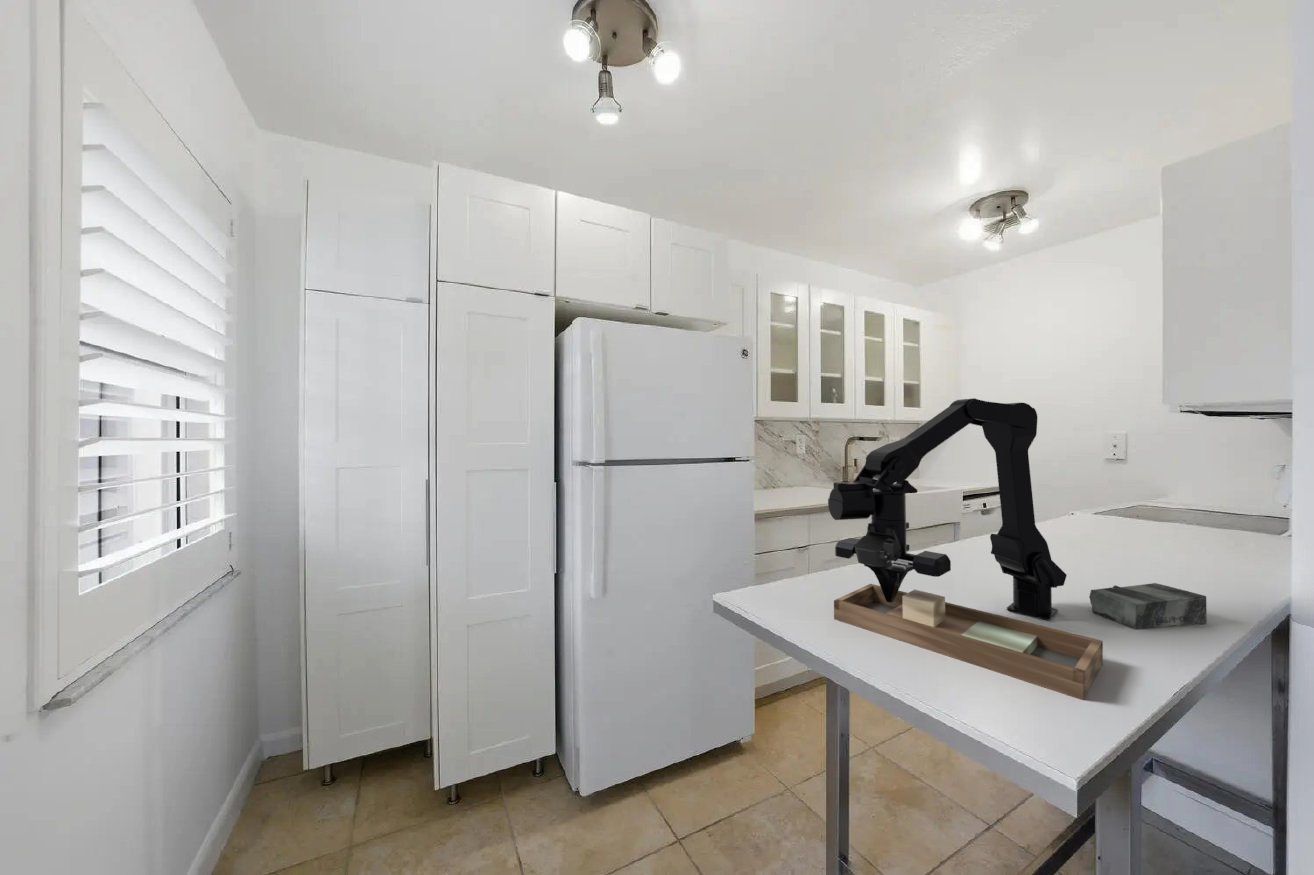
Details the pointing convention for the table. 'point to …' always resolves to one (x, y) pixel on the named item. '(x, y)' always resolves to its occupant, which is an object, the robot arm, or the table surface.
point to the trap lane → (983, 640)
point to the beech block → (924, 607)
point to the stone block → (1149, 606)
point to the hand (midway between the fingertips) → (889, 601)
